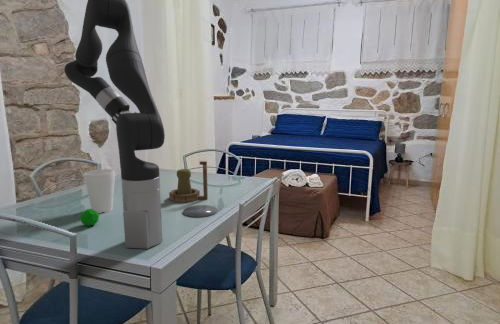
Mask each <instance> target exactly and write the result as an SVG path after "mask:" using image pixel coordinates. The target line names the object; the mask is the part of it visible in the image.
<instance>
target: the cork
mask: <svg viewBox="0 0 500 324" xmlns="http://www.w3.org/2000/svg"><path fill="white" fill-rule="evenodd" d="M176 176H177V181H178V182H177V195H187V194H192V189H191V188H192V185H191V179H190V178H191V176H192V172H191V170H190V169H187V168H181V169H179V170H177V171H176Z"/></svg>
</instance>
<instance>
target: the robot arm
mask: <svg viewBox="0 0 500 324" xmlns="http://www.w3.org/2000/svg"><path fill="white" fill-rule="evenodd" d="M85 7H86V8H85V12H84V18H83V24H82V29H81V30H82V31H81V36H80V40H79V42H78V45H77V47H76V51H75V53H74V54H75V55H74V57H75V60H72V61H70V62H68V63H66V64H65V66H64V70H63V71H64V73H65V76H66V77H67V79H68V80H69V81H70V82H72V83H73V84H75V85H76V86H77V87H79V88H81V89H82V90H84V91H86V92H87V93H89V94H90V96H91V97H92V98H93V99H95V100H96V102H97V103H98V105H99V106H100V107H101V109H103V111H105V113H106V114H108V116H109V117H110V118H111V121H112V122H113V124H115V126H116V127H115V130H116V140H117V145H118V155H119V166H120V178H121V192H122V194H121V195H122V206H123V207H122V208H123V211H122V216H123V218H122V219H123V220H122V221H123V232H124V233H123V234H124V248H126V249H129V248H130V249H144V250H145V249H146V250H147V249H150V248H151V247H155V246H156V245H159V244H160V243H162V242H163V225H162V224H163V223H162V222H163V221H162V205H161V204H162V202H161V180H160V177H161V176H160V167H159V165H158V164H157V163H154V162H149V161H145V160H143V159H140V158H138V157H137V156H136V153H135V151H147V150H149V151H150V150H156V149H159V148H161V147H163V146H164V144H165V136H166V135H165V128H164V124H163V122H162V117H161V115H160V113H159V109H158V107H157V106H156V102H155V101H154V100H155V99H154V97H153V95H152V92H151V89H150V86H149V83H148V80H147V74H146V71H145V68H144V64H143V60H142V57H141V54H140V51H139V48H138V44H137V40H136V37H135V33H134V27H133V22H132V15H131V10H130V7H129V4H128V2H127V1H126V0H87V2H86V6H85ZM96 26H98V27H101V28H107V29H111V30H115V31H116V32H117V34H118V35H117V37H116V39H115V40H114V41H113V43H112V44H111V45H110V46H109V48H108V50H107V52H106V54H105V64H106V68H107V72H108V75H109V79H110V81H111V82H112V84H113V86H115V87H116V88H117V89H118V91H120V92H121V93H122V94H123V95H124V96H125V97H126V98H127V99H129V100H130V101H131V102H132V103H133V104H134V106H135V107H136V108H137V110H138V111H139V112H136V111H134V112H132V111H130V108H131V106H130V104H129V103H128V102H127V101H126V100H125V99H124V98H123V97H122V96H121V95H120V93H118V92H117V90H115V89H114V88H113V87H112V86H111V85H110V84H109V83H108V82H107V81H106V80H105V79H104V78H103V77H101V76H95V75H96V74H97V72H98V65H99V64H98V61H99V60H100V59H99V58H100V57H101V55H102V53H103V43H102V39H101V37H100V36H99V34H98V32H97V29H96ZM94 76H95V77H94Z"/></svg>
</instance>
